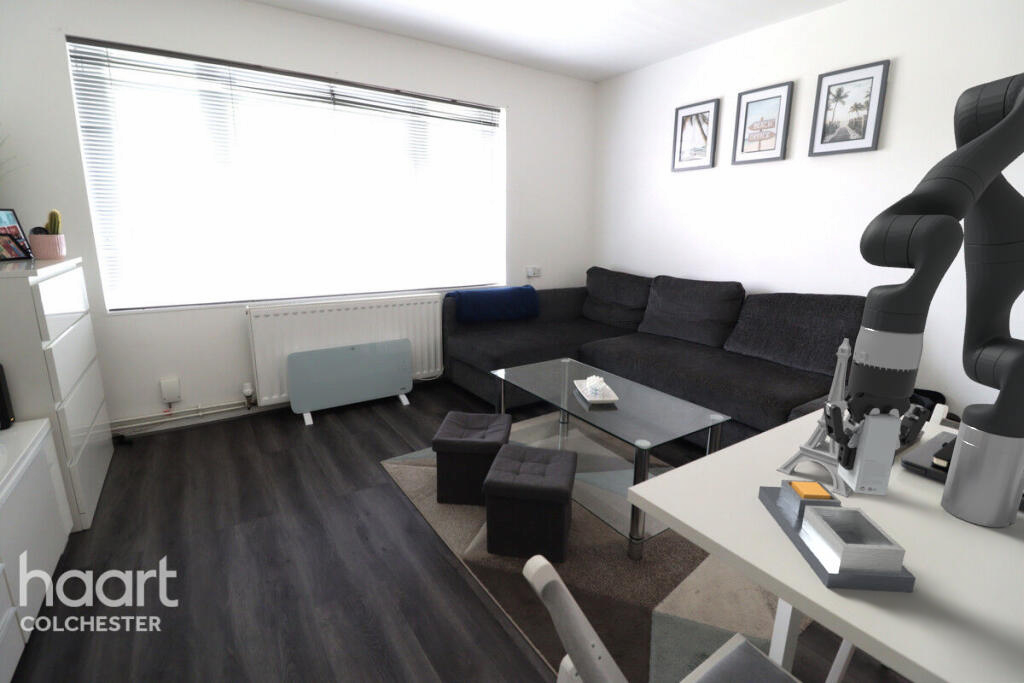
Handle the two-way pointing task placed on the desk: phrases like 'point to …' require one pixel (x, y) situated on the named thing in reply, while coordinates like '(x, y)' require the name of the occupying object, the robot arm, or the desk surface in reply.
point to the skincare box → (873, 455)
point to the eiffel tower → (817, 444)
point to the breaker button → (810, 490)
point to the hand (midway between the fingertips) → (863, 467)
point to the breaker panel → (838, 541)
